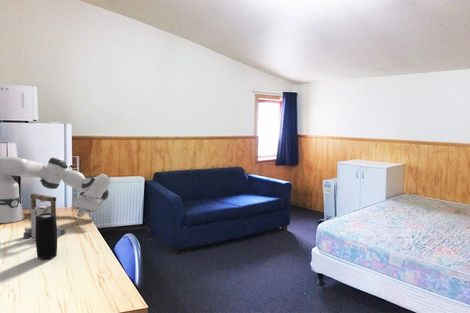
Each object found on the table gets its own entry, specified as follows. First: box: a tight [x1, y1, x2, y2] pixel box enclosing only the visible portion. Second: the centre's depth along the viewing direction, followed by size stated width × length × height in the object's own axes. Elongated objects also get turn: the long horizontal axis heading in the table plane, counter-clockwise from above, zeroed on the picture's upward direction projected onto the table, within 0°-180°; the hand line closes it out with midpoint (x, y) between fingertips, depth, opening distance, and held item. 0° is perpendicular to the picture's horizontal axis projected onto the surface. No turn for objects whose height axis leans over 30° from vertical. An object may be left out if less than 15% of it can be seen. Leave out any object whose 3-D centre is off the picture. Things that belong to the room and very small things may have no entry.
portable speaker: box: [35, 213, 58, 261], centre depth 162 cm, size 9×9×20 cm
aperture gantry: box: [29, 193, 57, 215], centre depth 191 cm, size 18×3×22 cm, turn 62°
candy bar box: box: [29, 203, 51, 240], centre depth 191 cm, size 11×5×16 cm, turn 151°
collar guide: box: [23, 226, 66, 243], centre depth 192 cm, size 14×16×5 cm
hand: (78, 216), depth 210 cm, fingers closed
